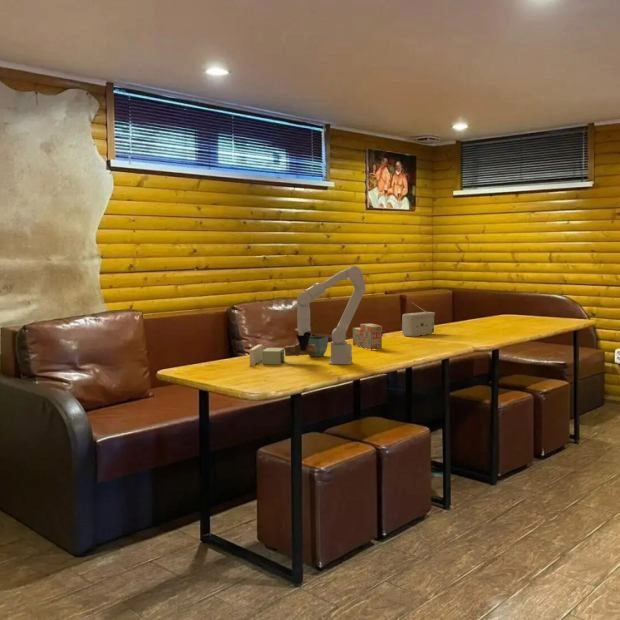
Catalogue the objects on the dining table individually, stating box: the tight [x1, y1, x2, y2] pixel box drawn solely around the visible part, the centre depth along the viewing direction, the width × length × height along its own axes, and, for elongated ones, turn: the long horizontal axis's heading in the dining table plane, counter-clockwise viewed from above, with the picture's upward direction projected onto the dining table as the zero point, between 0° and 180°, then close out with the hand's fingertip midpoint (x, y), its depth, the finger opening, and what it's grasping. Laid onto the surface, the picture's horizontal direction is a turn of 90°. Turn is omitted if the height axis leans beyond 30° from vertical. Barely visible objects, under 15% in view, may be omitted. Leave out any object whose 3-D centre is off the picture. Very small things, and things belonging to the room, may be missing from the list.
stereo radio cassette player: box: [401, 302, 436, 338], centre depth 390 cm, size 21×8×20 cm, turn 129°
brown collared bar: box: [284, 342, 316, 357], centre depth 299 cm, size 13×7×5 cm, turn 80°
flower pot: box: [308, 335, 329, 358], centre depth 318 cm, size 9×9×9 cm
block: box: [261, 347, 285, 365], centre depth 302 cm, size 8×10×6 cm
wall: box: [249, 344, 263, 366], centre depth 303 cm, size 2×16×7 cm, turn 170°
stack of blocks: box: [352, 323, 383, 351], centre depth 346 cm, size 21×6×12 cm, turn 22°
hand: (304, 349), depth 299 cm, fingers closed on brown collared bar, 4 cm apart
